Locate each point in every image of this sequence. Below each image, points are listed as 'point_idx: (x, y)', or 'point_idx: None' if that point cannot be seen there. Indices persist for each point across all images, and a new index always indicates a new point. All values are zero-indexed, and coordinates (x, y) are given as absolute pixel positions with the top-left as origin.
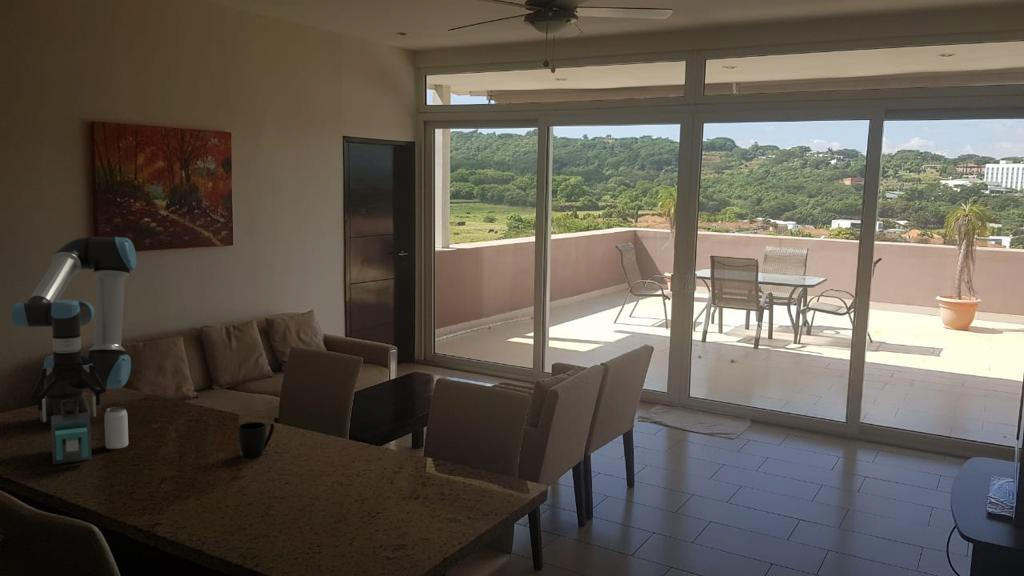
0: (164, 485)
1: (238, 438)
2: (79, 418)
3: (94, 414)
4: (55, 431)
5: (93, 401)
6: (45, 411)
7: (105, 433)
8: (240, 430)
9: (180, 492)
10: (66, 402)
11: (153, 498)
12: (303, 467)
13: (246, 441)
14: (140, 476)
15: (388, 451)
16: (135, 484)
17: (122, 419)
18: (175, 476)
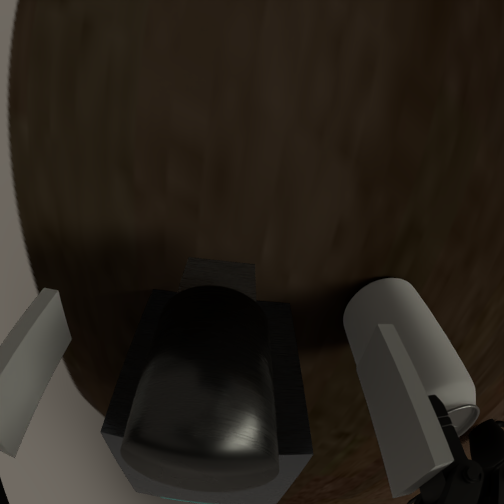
0: (328, 485)
1: (477, 458)
2: (242, 493)
3: (365, 378)
4: None
5: (385, 460)
6: (36, 364)
7: (357, 361)
8: None
9: (331, 495)
10: (175, 485)
11: (297, 499)
12: (468, 458)
13: None
14: (318, 467)
15: None
16: (297, 480)
17: None
18: (359, 472)
